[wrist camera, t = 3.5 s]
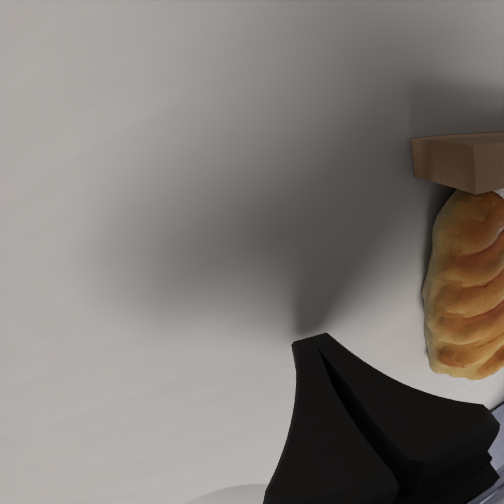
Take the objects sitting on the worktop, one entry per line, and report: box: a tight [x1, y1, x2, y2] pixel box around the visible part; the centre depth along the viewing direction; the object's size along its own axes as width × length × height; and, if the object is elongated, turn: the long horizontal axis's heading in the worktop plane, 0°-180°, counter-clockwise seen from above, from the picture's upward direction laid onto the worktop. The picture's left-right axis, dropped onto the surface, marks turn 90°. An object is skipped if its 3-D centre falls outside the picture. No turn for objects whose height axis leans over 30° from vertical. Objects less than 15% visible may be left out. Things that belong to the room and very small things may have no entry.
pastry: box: [422, 189, 504, 380], centre depth 12 cm, size 9×7×4 cm
